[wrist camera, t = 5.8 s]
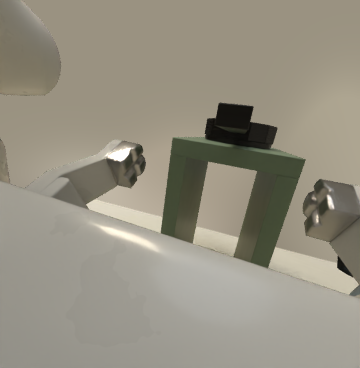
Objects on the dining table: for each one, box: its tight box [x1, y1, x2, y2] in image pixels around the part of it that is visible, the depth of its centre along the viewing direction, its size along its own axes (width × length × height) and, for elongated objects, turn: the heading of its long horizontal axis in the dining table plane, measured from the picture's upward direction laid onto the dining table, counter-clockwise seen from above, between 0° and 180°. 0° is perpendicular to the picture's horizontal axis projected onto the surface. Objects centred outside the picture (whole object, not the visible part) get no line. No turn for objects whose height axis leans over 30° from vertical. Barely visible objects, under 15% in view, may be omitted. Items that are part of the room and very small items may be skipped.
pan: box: [205, 103, 277, 149], centre depth 22 cm, size 26×10×3 cm, turn 161°
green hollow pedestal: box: [161, 137, 305, 268], centre depth 32 cm, size 18×14×26 cm
